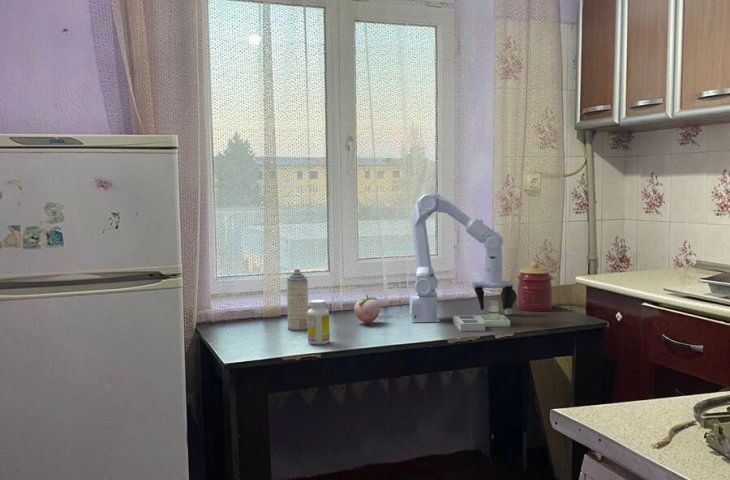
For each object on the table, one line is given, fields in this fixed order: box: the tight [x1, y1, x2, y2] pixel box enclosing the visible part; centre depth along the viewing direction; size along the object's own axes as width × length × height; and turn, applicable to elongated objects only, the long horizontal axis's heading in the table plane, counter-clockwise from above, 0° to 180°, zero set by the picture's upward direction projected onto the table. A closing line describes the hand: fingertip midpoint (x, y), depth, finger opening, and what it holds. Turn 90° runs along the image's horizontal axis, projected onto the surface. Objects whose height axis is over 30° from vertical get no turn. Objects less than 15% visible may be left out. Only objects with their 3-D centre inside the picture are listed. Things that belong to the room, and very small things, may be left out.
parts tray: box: [476, 314, 511, 328], centre depth 236 cm, size 9×9×2 cm
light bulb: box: [499, 289, 517, 317], centre depth 249 cm, size 6×6×10 cm
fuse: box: [487, 300, 500, 321], centre depth 236 cm, size 4×4×7 cm
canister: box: [516, 261, 554, 312], centre depth 261 cm, size 13×13×18 cm
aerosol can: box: [286, 268, 309, 332], centre depth 231 cm, size 7×7×20 cm
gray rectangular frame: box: [452, 314, 486, 332], centre depth 232 cm, size 8×13×2 cm, turn 3°
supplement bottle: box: [307, 299, 331, 346], centre depth 213 cm, size 7×7×13 cm
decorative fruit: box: [353, 294, 381, 325], centre depth 238 cm, size 9×8×10 cm
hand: (493, 309), depth 236 cm, fingers open, 7 cm apart
